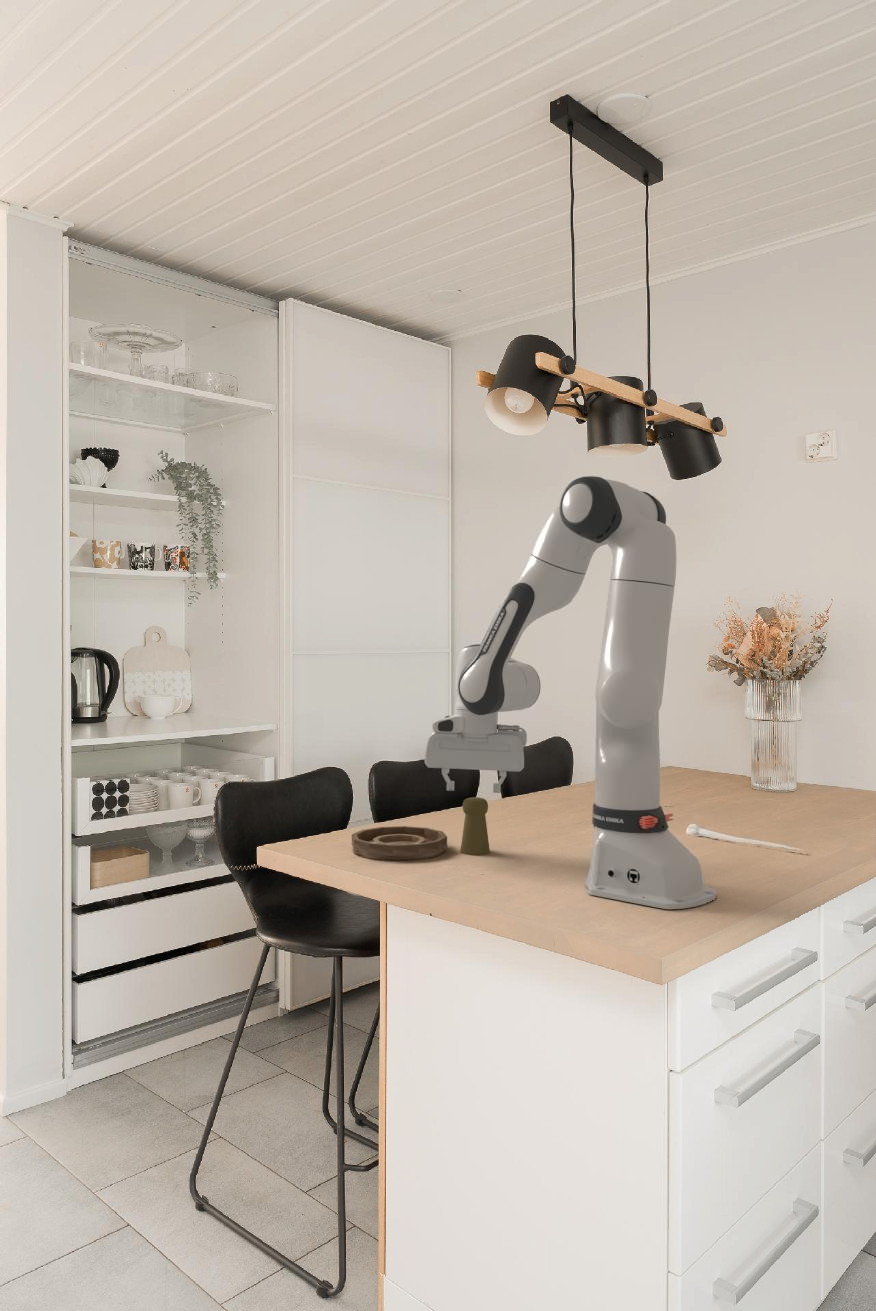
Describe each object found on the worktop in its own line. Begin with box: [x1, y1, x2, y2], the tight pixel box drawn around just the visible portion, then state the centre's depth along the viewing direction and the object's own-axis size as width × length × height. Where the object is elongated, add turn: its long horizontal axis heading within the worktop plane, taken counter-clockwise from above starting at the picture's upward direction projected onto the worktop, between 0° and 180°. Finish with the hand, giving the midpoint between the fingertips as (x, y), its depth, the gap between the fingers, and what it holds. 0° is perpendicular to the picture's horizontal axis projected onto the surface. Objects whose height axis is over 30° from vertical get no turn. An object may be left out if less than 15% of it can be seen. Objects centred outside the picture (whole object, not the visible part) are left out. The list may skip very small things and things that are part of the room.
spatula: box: [685, 823, 804, 851], centre depth 200 cm, size 28×4×3 cm, turn 43°
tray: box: [351, 825, 448, 862], centre depth 192 cm, size 19×19×3 cm
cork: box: [460, 796, 491, 856], centre depth 191 cm, size 6×6×11 cm
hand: (473, 791), depth 191 cm, fingers open, 8 cm apart
